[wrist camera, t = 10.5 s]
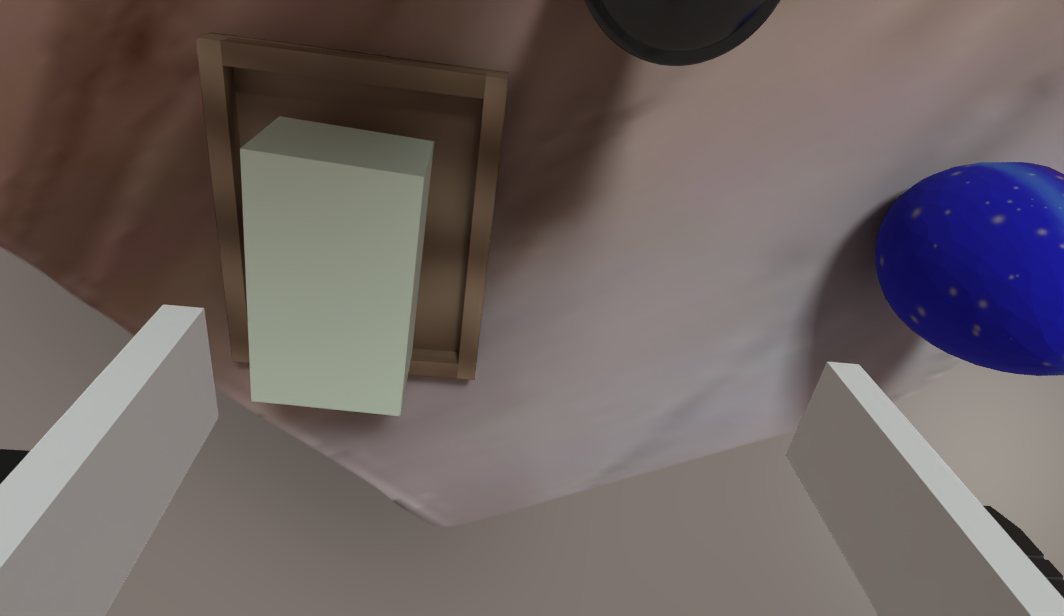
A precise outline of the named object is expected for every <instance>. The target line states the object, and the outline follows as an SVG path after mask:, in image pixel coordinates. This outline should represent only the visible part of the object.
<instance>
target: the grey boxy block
mask: <svg viewBox="0 0 1064 616" xmlns="http://www.w3.org/2000/svg"><path fill="white" fill-rule="evenodd" d="M433 148H434V141H429V140H423V139H417V138H411V137H405V136H398V135H392V134H386V133H380V132H374V131H368V130H361V129H355V128H349V127H343V126H337V125H330V124H324V123H318V122H312V121H306V120H300V119H293V118H287V117H281V116H279V117H278V118H277V119H275V120H274V121H273V122H272V123H271V124H269V125H268V126H267V127H266V128H265V129H263V130H262V131H261V132H260V133H258V134H257V135H256V136H255V137H254V138H252V139H251V140H250V141H249V142H247V143H246V144H245V145H244V146H243V147H241V148H240V160H241V183H242V205H243V227H244V250H245V272H246V295H247V317H248V339H249V362H250V384H251V401H256V402H266V403H275V404H285V405H295V406H305V407H315V408H324V409H334V410H344V411H354V412H364V413H373V414H383V415H393V416H400V414H401V409H402V404H403V399H404V393H405V388H406V383H407V378H408V372H409V367H410V362H411V357H412V348H413V338H414V329H415V319H416V310H417V300H418V291H419V281H420V272H421V262H422V253H423V243H424V234H425V224H426V215H427V205H428V196H429V186H430V177H431V167H432V158H433Z"/></svg>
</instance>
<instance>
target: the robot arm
mask: <svg viewBox="0 0 1064 616" xmlns="http://www.w3.org/2000/svg"><path fill="white" fill-rule="evenodd" d="M218 417H219V416H218V408H217V401H216V393H215V386H214V378H213V371H212V363H211V356H210V348H209V341H208V333H207V326H206V318H205V311H204V308H198V307H186V306H175V305H162V306H161V307H160V308H159V310H158V311H157V312H156V313H155V314H154V315H153V316H152V317H151V318H150V319H149V321H148V322H147V323H146V324H145V325H144V326H143V327H142V328H141V329H140V331H139V332H138V333H137V334H136V335H135V336H134V337H133V338H132V339H131V341H130V342H129V343H128V344H127V345H126V346H125V347H124V348H123V349H122V351H121V352H120V353H119V354H118V355H117V356H116V357H115V358H114V359H113V360H112V362H111V363H110V364H109V365H108V366H107V367H106V368H105V369H104V371H102V373H101V374H100V375H99V376H98V377H97V378H96V379H95V380H94V381H93V382H92V384H91V385H90V386H89V387H88V388H87V389H86V390H85V391H84V392H83V394H82V395H81V396H80V397H79V398H78V399H77V400H76V401H75V402H74V403H73V405H72V406H71V407H70V408H69V409H68V410H67V411H66V412H65V413H64V415H63V416H62V417H61V418H60V419H59V420H58V421H57V422H56V424H54V426H53V427H52V428H51V429H50V430H49V431H48V432H47V433H46V435H44V437H43V438H42V439H41V440H40V441H39V442H38V443H37V444H36V445H35V447H34V448H33V449H32V450H31V451H23V450H6V449H1V450H0V616H105V615H106V613H107V611H108V609H109V608H110V606H111V604H112V602H113V601H114V599H115V597H116V595H117V594H118V592H119V590H120V588H121V587H122V585H123V583H124V581H125V580H126V578H127V576H128V574H129V573H130V571H131V569H132V568H133V566H134V564H135V562H136V561H137V559H138V557H139V555H140V553H141V552H142V550H143V548H144V546H145V545H146V543H147V541H148V539H149V538H150V536H151V534H152V533H153V531H154V529H155V527H156V526H157V524H158V522H159V520H160V518H161V517H162V515H163V513H164V512H165V510H166V508H167V506H168V505H169V503H170V501H171V499H172V498H173V496H174V494H175V492H176V491H177V489H178V487H179V485H180V484H181V482H182V480H183V479H184V477H185V475H186V473H187V472H188V470H189V468H190V466H191V465H192V463H193V461H194V459H195V457H196V456H197V454H198V452H199V451H200V449H201V447H202V445H203V444H204V442H205V440H206V438H207V437H208V435H209V433H210V431H211V430H212V428H213V426H214V424H215V423H216V421H217V419H218ZM786 456H787V458H788V460H789V461H790V463H791V465H792V467H793V469H794V470H795V472H796V474H797V476H798V477H799V479H800V481H801V483H802V484H803V486H804V487H805V489H806V491H807V493H808V495H809V496H810V498H811V500H812V502H813V503H814V505H815V507H816V509H817V510H818V512H819V514H820V515H821V517H822V519H823V521H824V522H825V524H826V526H827V528H828V529H829V531H830V533H831V534H832V536H833V538H834V539H835V541H836V543H837V545H838V547H839V548H840V550H841V552H842V554H843V555H844V557H845V558H846V561H847V562H848V564H849V566H850V567H851V569H852V571H853V573H854V574H855V576H856V578H857V579H858V581H859V583H860V585H861V586H862V588H863V590H864V592H865V594H866V595H867V597H868V599H869V600H870V602H871V604H872V606H873V607H874V609H875V611H876V613H877V614H878V616H1064V580H1063V575H1062V574H1061V573H1060V572H1059V571H1058V570H1057V569H1056V568H1055V567H1054V566H1053V564H1051V562H1050V561H1049V560H1045V559H1044V558H1043V556H1044V555H1043V553H1042V552H1041V551H1040V550H1039V549H1038V548H1037V547H1036V546H1035V545H1034V543H1033V542H1032V541H1031V540H1030V539H1029V538H1028V537H1027V536H1026V535H1025V533H1024V532H1023V531H1021V529H1020V528H1018V527H1017V526H1015V525H1014V524H1013V523H1012V522H1011V521H1009V520H1008V519H1007V518H1005V517H1004V516H1003V515H1001V514H1000V513H999V512H997V511H996V510H995V509H993V508H992V507H991V506H983V505H982V504H981V503H980V502H979V501H978V500H977V499H976V497H975V496H974V495H973V494H972V493H971V492H970V491H969V489H968V488H967V487H966V486H965V485H964V484H963V483H962V482H961V480H960V479H959V478H958V477H957V476H956V475H955V473H954V472H953V471H952V470H951V469H950V468H949V467H948V465H947V464H946V463H945V462H944V461H943V460H942V459H941V457H940V456H939V455H938V454H937V453H936V452H935V451H934V449H933V448H932V447H931V446H930V445H929V444H928V443H927V441H926V440H925V439H924V438H923V437H922V436H921V435H920V433H919V432H918V431H917V430H916V429H915V428H914V427H913V425H912V424H911V423H910V422H909V421H908V420H907V419H906V417H905V416H904V415H903V414H902V413H901V412H900V411H899V409H898V408H897V407H896V406H895V405H894V404H893V403H892V401H891V400H890V399H889V398H888V397H887V396H886V395H885V393H884V392H883V391H882V390H881V389H880V388H879V387H878V385H877V384H876V383H875V382H874V381H873V380H872V379H871V377H870V376H869V375H868V374H867V373H866V372H865V371H864V369H863V368H862V367H861V366H860V365H859V364H849V363H837V362H827V363H826V365H825V367H824V369H823V372H822V374H821V376H820V378H819V381H818V383H817V385H816V387H815V390H814V392H813V394H812V397H811V399H810V401H809V403H808V406H807V408H806V410H805V412H804V415H803V417H802V419H801V422H800V424H799V426H798V428H797V431H796V433H795V435H794V438H793V440H792V442H791V444H790V446H789V449H788V451H787V454H786Z"/></svg>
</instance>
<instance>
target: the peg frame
mask: <svg viewBox="0 0 1064 616" xmlns="http://www.w3.org/2000/svg"><path fill="white" fill-rule="evenodd" d="M195 39H196V47H197V56H198V65H199V74H200V82H201V91H202V100H203V109H204V117H205V126H206V135H207V144H208V152H209V161H210V170H211V179H212V187H213V196H214V205H215V214H216V222H217V231H218V240H219V248H220V257H221V266H222V275H223V283H224V292H225V301H226V310H227V318H228V327H229V336H230V345H231V353H232V361H234V362H247V363H250V362H249V339H248V317H247V295H246V272H245V250H244V227H243V205H242V183H241V160H240V148H241V147H243V146H244V145H245V144H246V143H247V142H249V141H250V140H251V139H252V138H254V137H255V136H256V135H257V134H258V133H260V132H261V131H262V130H263V129H265V128H266V127H267V126H268V125H269V124H271V123H272V122H273V121H274V120H275V119H277V118H278V117H279V116H281V117H287V118H293V119H300V120H306V121H312V122H318V123H324V124H330V125H337V126H343V127H349V128H355V129H361V130H368V131H374V132H380V133H386V134H392V135H398V136H405V137H411V138H417V139H423V140H429V141H434V148H433V158H432V167H431V177H430V186H429V196H428V205H427V215H426V224H425V234H424V243H423V253H422V262H421V272H420V281H419V291H418V300H417V310H416V319H415V329H414V338H413V348H412V357H411V362H410V367H409V372H408V375H417V376H430V377H443V378H456V379H469V380H474V379H475V370H476V361H477V353H478V344H479V335H480V326H481V317H482V308H483V300H484V291H485V282H486V273H487V264H488V255H489V247H490V238H491V229H492V220H493V211H494V202H495V194H496V185H497V176H498V167H499V158H500V149H501V141H502V132H503V123H504V114H505V105H506V96H507V87H508V72H500V71H493V70H485V69H478V68H470V67H463V66H455V65H448V64H440V63H433V62H425V61H418V60H410V59H403V58H396V57H388V56H381V55H373V54H366V53H358V52H351V51H343V50H336V49H328V48H321V47H313V46H306V45H298V44H291V43H283V42H276V41H268V40H261V39H253V38H246V37H239V36H231V35H224V34H216V33H208V34H205V35H202V36H199V37H196V38H195Z"/></svg>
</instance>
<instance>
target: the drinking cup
mask: <svg viewBox="0 0 1064 616" xmlns="http://www.w3.org/2000/svg"><path fill="white" fill-rule="evenodd" d="M779 1H780V0H585V2H586V4H587V7H588V9H589V11H590V13H591V14H592V16H593V18H594V20H595V21H596V22H597V24H598V25H599V27H600V28H601V29H602V31H603V32H604V33H605V34H606V35H607V36H608V37H609V38H610V39H611V40H612V41H613V42H614V43H615V44H616V45H618V46H619V47H620V48H622V49H623V50H625V51H626V52H628V53H630V54H631V55H633V56H635V57H637V58H640V59H642V60H645V61H648V62H651V63H655V64H660V65H668V66H684V65H692V64H697V63H702V62H705V61H708V60H711V59H714V58H716V57H718V56H721V55H723V54H725V53H727V52H728V51H730V50H732V49H734V48H735V47H737V46H738V45H740V44H741V43H742V42H744V41H745V40H746V39H747V38H749V37H750V36H751V35H752V34H753V33H754V32H755V31H756V30H757V29H758V28H759V27H760V26H761V25H762V24H763V23H764V22H765V21H766V20H767V18H768V17H769V16H770V14H771V13H772V12H773V10H774V9H775V8H776V6H777V4H778V3H779Z"/></svg>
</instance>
